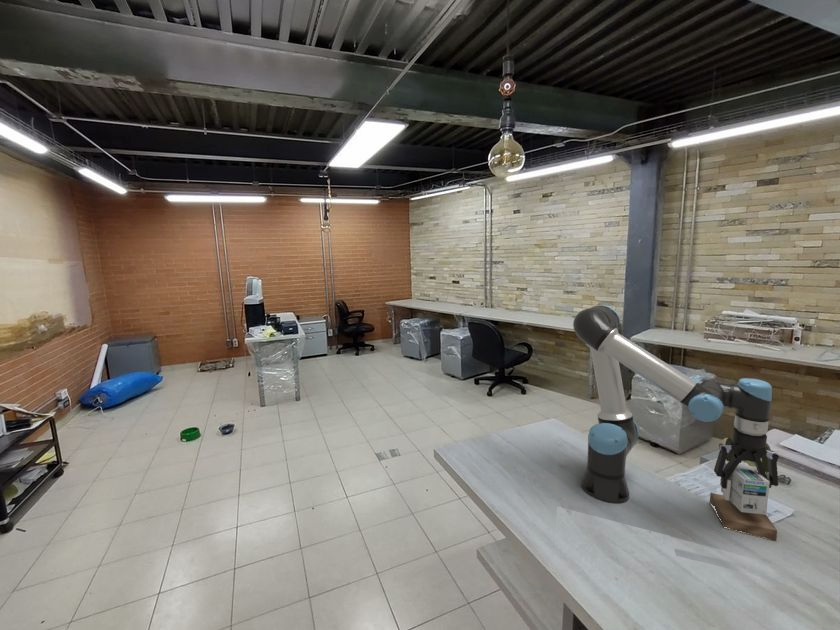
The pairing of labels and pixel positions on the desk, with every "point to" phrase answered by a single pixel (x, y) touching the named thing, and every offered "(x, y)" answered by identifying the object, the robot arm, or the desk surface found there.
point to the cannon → (764, 461)
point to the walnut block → (742, 518)
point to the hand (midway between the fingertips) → (742, 500)
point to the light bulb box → (748, 489)
